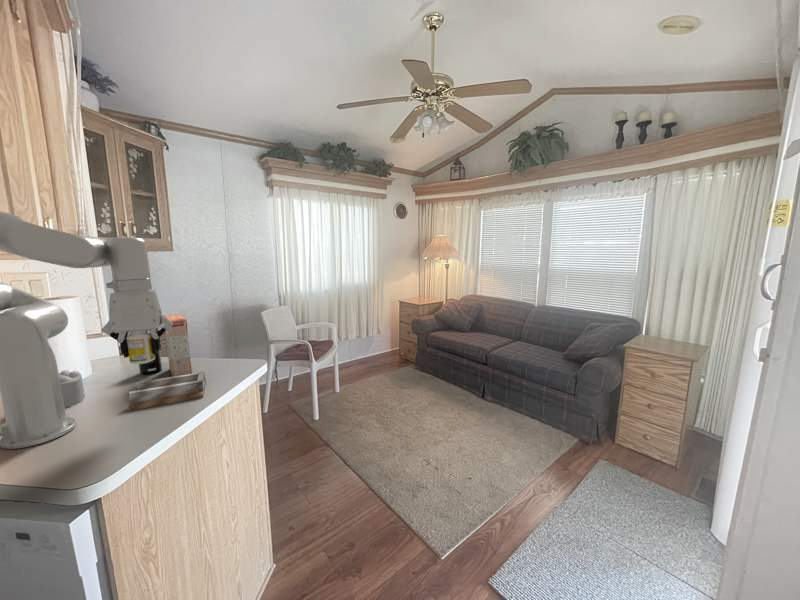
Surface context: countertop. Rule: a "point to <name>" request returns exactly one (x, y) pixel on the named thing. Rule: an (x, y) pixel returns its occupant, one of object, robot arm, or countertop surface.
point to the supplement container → (151, 366)
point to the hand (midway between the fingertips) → (142, 353)
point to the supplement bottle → (140, 347)
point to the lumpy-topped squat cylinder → (71, 387)
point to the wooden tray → (167, 390)
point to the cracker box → (178, 346)
